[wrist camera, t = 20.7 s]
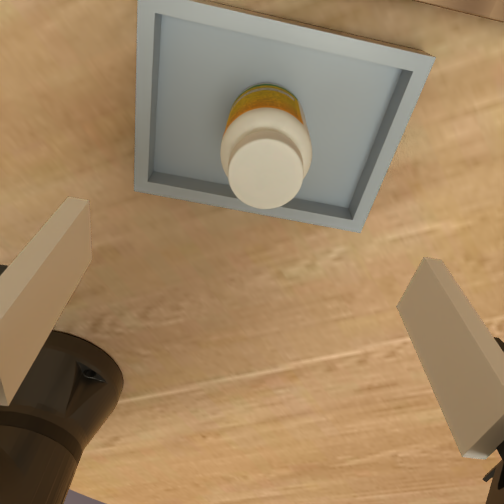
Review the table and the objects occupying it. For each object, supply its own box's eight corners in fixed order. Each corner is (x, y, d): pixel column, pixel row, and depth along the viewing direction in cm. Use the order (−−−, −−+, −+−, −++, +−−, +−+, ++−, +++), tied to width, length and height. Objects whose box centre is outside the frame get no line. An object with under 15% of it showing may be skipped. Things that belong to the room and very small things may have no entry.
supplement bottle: (315, 135, 29) (333, 197, 21) (251, 167, 30) (246, 235, 23) (283, 65, 26) (290, 105, 18) (214, 104, 28) (194, 156, 20)
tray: (142, 176, 32) (133, 191, 30) (148, -13, 24) (137, -12, 22) (354, 216, 33) (360, 233, 31) (422, 50, 26) (435, 57, 24)
